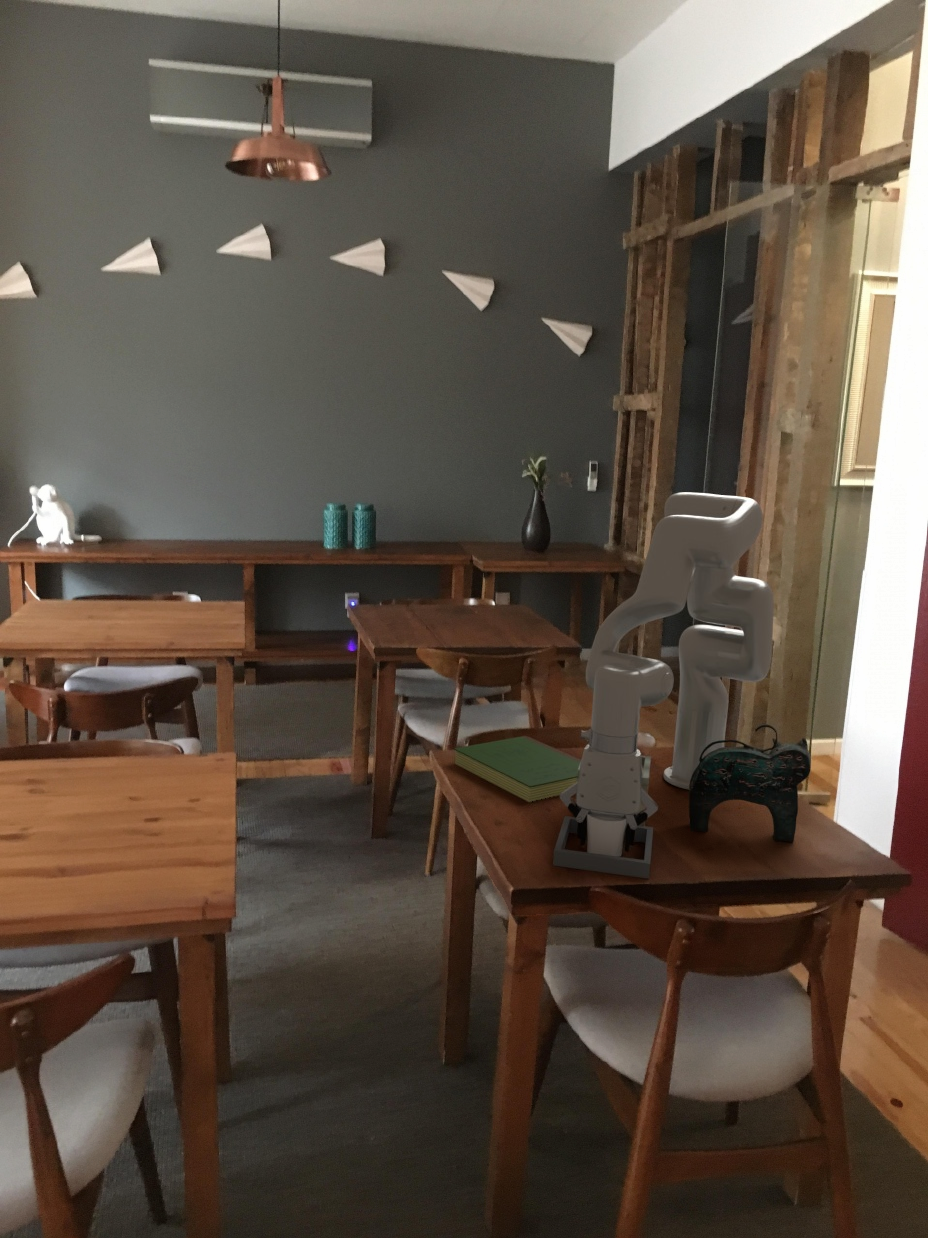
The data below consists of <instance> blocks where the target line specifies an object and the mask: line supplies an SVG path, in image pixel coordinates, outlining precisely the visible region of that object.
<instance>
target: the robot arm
mask: <svg viewBox="0 0 928 1238" xmlns="http://www.w3.org/2000/svg"><path fill="white" fill-rule="evenodd" d="M663 509H664V510H663V511H664V517H663V518H661V519H660V520H659V521H658V522H657V524H656V526H655V527H654V530H653V533H652V537H651V541H650V544H649V546H648V549H647V550H648V551H647V554H646V558H645V560H644V564H643V567H642V571H641V574H640V577H639V580H638V583H637V588H636V590H635V592H634V593H633V595H632V596H630V597H629V598H628V599H626V600H624V601H623V602H622V603H621V604H620V605H618V606H617V607H616V608H615V609H614V610H613V611H612V612H611V613H610V614H608V615H607V617H606V618H605V619H604V621H603V622H602V623H601V624H600V626H599V628H598V629H597V632H596V634H595V636H594V640H593V642H592V646H591V649H590V651H589V652H590V653H589V656H588V660H587V664H586V669H585V681H586V684H587V687H588V688H589V690H590V691H591V692H593V694H592V695H593V696H592V697H593V698H592V708H591V709H592V711H591V721H590V723H591V724H590V728H589V729H588V730H581V732H580V734H581V735H580V739H581V740H585V741H587V743H588V744H586V745H585V747H584V748H583V749H584V750H583V752H582V756H581V758H580V760H581V764H580V771H579V778H578V781H577V782H576V783H574V784H573V785H572V786H570V787H569V788H567V789H566V790H564V791H563V792H562V793H561V795H560V796H559V799H560V800H561V802H562V803H563V804H564V806H566V807H567V810H568V812H570V813H571V814H572V815H573V816H572V817H575V818H576V821H577V822H578V827H577V834H576V839H578V840H579V839H580V840H579V846H580V847H584V846H585V845H586V843H587V835H586V834H587V817H586V815H587V814H588V812H589V810H590V811H597V812H605V813H613V814H621V815H625V816H626V818H627V821H628V823H627V827H626V837H625V840H624V848H623V851H625V853H629V852H630V846H633V847H634V846H635V841H634V838H635V829H636V828H637V826H639V825H640V824H641V823H643V822H644V821H645V822H646V821H647V820H648V819H649V818H650V817H651V816H653V815H654V814H655V813H656V812H657V811H658V810H659V805H658V803H657V802H656V801H655V800H654V799H653V798H652V797H651V796H650V795H649V794H647V793H646V792H645V791H644V790H643V789H642V760H641V755H642V753H641V751H640V749H638V739H639V738H638V737H639V726H640V713H641V707H649V706H656V705H658V704H661V703H663V702H664V701H665V700H666V699H667V698H668V697H669V696H670V694H671V692H672V690H673V689H674V688H673V687H674V679H675V678H674V673H673V671H672V668H671V667H670V666H669V665H668V664H667V663H665V662H664V661H662V660H660V659H655V658H649V657H644V656H638V655H634V654H629V653H623V652H617V651H616V649H617V647H618V644H619V643H620V641H621V640H622V639H623V638H624V636H625V635H627V634H628V633H629V632H630V631H631V630H633V629H635V628H637V627H639V626H641V625H644V624H647V623H649V622H652V621H657V620H659V619H663V618H667V617H670V616H674V615H676V614H679V613H680V612H683V610H684V608H685V606H686V605H687V611H688V614H689V616H690V617H691V618H693V620H697V621H700V622H701V623H702V622H703V623H708V624H694V625H691V626H688V627H687V628H686V629H684V630H683V632H682V633H681V634H680V638H679V640H678V641H679V642H678V659H679V674H680V675H679V693H678V704H677V714H676V722H675V723H676V725H675V733H674V734H675V735H674V743H673V745H674V746H673V755H672V766H669V767H667V768H665V769H664V771H663V779H664V780H665V781H666V782H667V783H669V784H671V785H673V786H675V787H677V788H680V789H685V790H688V791H689V784H690V779H691V776H692V774H693V772H694V770H695V769H696V767H697V766H698V764H699V763H700V761H699V758H700V755H701V753H702V752H703V750H704V749H705V747H706V746H707V745H709V744H710V743H712V742H715V741H719V740H726V739H725V736H726V728H727V720H728V709H729V694H728V690H727V689H726V687H725V685H724V682H723V681H722V680H721V678H725V679H731V680H736V681H741V682H750V683H756V682H761V681H763V680H764V679H765V678H766V677H767V675H768V674H769V672H770V669H771V663H772V655H773V636H774V635H773V633H774V632H773V631H774V609H775V608H774V607H775V606H774V605H775V603H774V595H773V591H772V588H771V586H770V585H769V584H768V583H767V582H766V581H765V580H763V579H758V578H755V577H754V578H753V577H746V576H739V575H736V574H735V571H734V565H735V564H737V562H738V561H739V560H740V559H741V558H742V556H743V555H744V554H745V553H746V552H747V551H748V550H749V549H750V548H751V546H752V545H753V544H755V542H756V540H757V539H758V537H759V535H760V532H761V531H762V525H763V522H764V521H763V520H764V519H763V511H762V508H761V506H760V504H759V503H758V501H756V499H753V498H750V497H745V496H736V495H721V494H715V493H714V494H713V493H705V492H689V491H688V492H687V491H686V492H682V491H681V492H677V493H673V494H671V495H670V496H668V498H666V501H665V503H664V508H663ZM686 603H687V604H686ZM711 624H714V625H711ZM716 625H717V626H716ZM718 625H719V626H718ZM724 626H727V627H724ZM731 627H734V628H731ZM736 628H739V629H736ZM721 747H725V743H717V744H714V745H712V746H711V747H710V748H708V749H707V750H706V751H705V752H704V754H703V756H702V758H703V757H704V756H705V755H707V754H708V753H710V752H712V751H714V750H716V749H718V748H721ZM576 793H577V804H576V803H575V800H573V798H572V796H574V795H576ZM641 801H642V802H643V803H644V804H645V805H646V808H645V809H644V810H642V811H641V812H639V813H638V814H637V815H636V813H637V812H638V811H639V808H640V802H641Z"/></svg>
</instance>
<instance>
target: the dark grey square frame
mask: <svg viewBox="0 0 928 1238" xmlns="http://www.w3.org/2000/svg"><path fill="white" fill-rule="evenodd" d="M577 827H578V822H577V821H576V818H575V817H574V816H568V815H565V816H564V818H563V820H562V824H561V828H560V831H559V833H558V837H557V839H556V840H557V841H556V844H555V846H554V849H553V860H552V861H553V862H552V866H555V867H561V868H569V869H576V870H577V869H578V870H584V871H590V872H598V873H605V874H611V875H612V874H613V875H618V876H620V875H621V876H627V877H632V878H633V877H635V878H642V879H648V880H649V879H650V872H651V858H652V848H653V837H654V827H653V826H646V825H645V826H637V828H636V829H635V838H634V842H638V843H645V848H644V859H639V858H638V859H637V858H630V857H624V856H621V857H617V856H609V855H602V854H595V853H588V852H587V851H586V852H585V851H579V850H570V849H565V848H566V844H567V841H568V837H569V834H576V835H577ZM586 836H587V834H586ZM625 837H626V834H625Z"/></svg>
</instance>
